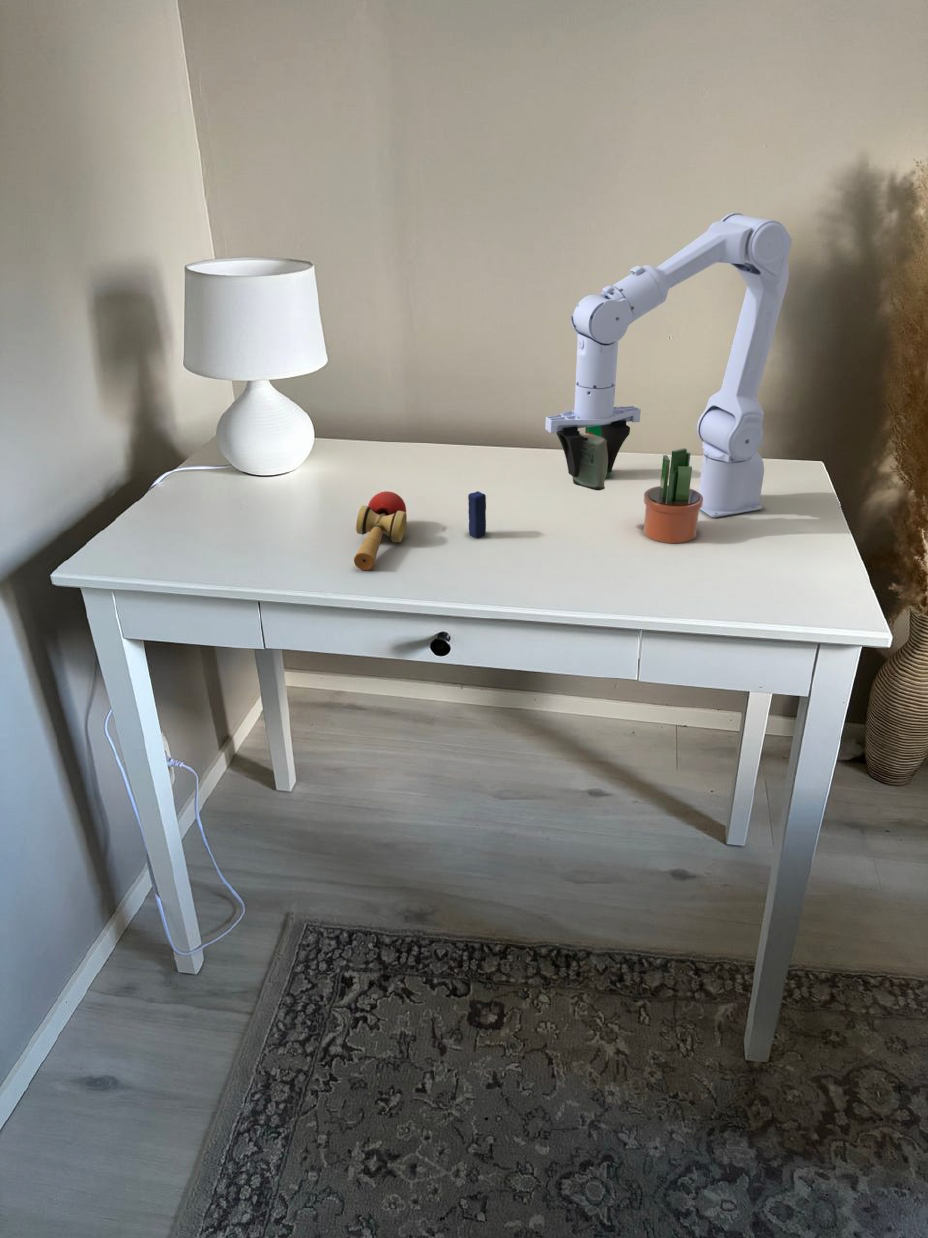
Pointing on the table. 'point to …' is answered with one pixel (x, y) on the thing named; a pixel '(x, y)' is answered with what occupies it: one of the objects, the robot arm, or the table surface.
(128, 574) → the table surface
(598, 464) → the pale green rounded block
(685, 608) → the table surface
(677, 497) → the plant
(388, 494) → the kendama
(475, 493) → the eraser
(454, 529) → the table surface
